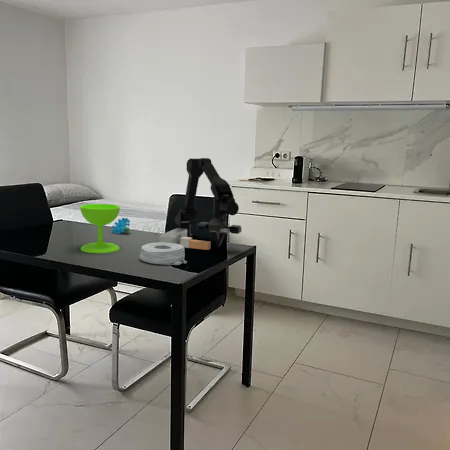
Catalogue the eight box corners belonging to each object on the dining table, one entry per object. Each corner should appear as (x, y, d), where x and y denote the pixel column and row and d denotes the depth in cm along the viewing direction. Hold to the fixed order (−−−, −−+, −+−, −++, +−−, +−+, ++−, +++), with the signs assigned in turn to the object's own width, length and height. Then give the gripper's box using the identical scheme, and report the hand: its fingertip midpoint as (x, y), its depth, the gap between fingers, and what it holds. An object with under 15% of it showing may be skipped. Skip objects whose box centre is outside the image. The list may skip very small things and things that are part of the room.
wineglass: (93, 255, 180) (93, 210, 177) (73, 247, 190) (72, 205, 187) (127, 249, 191) (127, 207, 188) (106, 242, 202) (106, 203, 199)
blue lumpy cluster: (107, 229, 225) (120, 214, 229) (113, 236, 229) (126, 221, 233) (120, 235, 218) (133, 220, 222) (126, 242, 222) (139, 227, 226)
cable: (188, 265, 172) (189, 250, 171) (142, 267, 167) (142, 251, 166) (180, 254, 188) (180, 240, 187) (137, 255, 183) (137, 241, 182)
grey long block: (177, 240, 214) (177, 228, 213) (186, 241, 213) (187, 229, 212) (159, 248, 195) (159, 235, 194) (169, 250, 194) (170, 236, 193)
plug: (183, 245, 205) (183, 236, 204) (210, 248, 201) (211, 239, 200) (180, 247, 201) (180, 238, 200) (207, 250, 197) (208, 241, 197)
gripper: (193, 212, 190) (191, 248, 193) (235, 216, 185) (233, 253, 188) (202, 209, 201) (200, 243, 203) (242, 212, 195) (240, 247, 198)
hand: (218, 247), depth 198 cm, fingers closed
